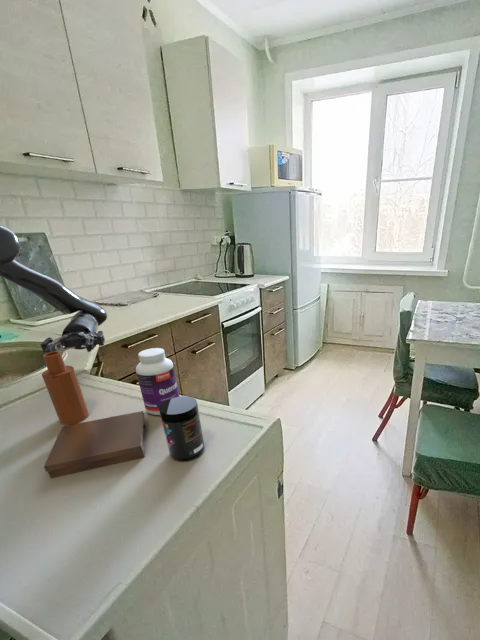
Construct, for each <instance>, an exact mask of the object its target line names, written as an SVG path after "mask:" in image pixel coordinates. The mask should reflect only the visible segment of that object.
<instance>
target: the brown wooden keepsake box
mask: <svg viewBox="0 0 480 640" xmlns="http://www.w3.org/2000/svg"><path fill="white" fill-rule="evenodd" d="M146 428H147V422H146V419H145V413H144V410H141V411H140V410H139V411H136V412H129V413H125V414H124V413H123V414H120V415H115V416H109V417H103V418H98V419H93V420H89V421H81V422H78V423H75V424H69V425H62V426H61V427H60V429H59V432H58V435H57V436H56V439H55V441H54V443H53V445H52V448H51V450H50V452H49V454H48V456H47V459H46V461H45V462H44V465H43V469H44V470H45V472H46V473H48V476H49V478H50V479H53V478H57V477H62V476H66V475H70V474H74V473H75V474H76V473H79V472H84V471H89V470H92V469H93V470H94V469H97V468H102V467H105V466H110V465H115V464H119V463H124V462H129V461H134V460H138V459H143V458H145V457H146V455H145V454H146V453H145V451H146V450H145V446H144V429H146Z"/></svg>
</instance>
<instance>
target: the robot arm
mask: <svg viewBox="0 0 480 640" xmlns="http://www.w3.org/2000/svg"><path fill="white" fill-rule="evenodd" d="M20 252H21V242H20V239H19V238H18V236H17V235H16V233H14V231H12V230H11V229H9V228H8V227H5V226H3V225H0V277H2V278H3V279H5V280H7V281H9V282H11V283H13V284H14V285H17V286H19V287H20V288H22V289H24V290H26V291H28V292H30V293H31V294H32V295H35V296H36V297H38V298H40V299H41V300H43V301H44V302H46V304H48V305H49V306H51V307H53V308H54V309H56V310H57V311H59V312H60V313H62V314H64V315H71V314H73V316H72V317H71V318H70V321H69V322H68V323H67V325H66V326H65V327H64V328H63V330H62V333H61V336H59V337H57V338H55V339H53V338H52V337H47V338H45V339H44V341H42V342H41V343H40V347H41V350H42V353H43V355H44V354H46V353H49V352H54V351H59V352H61V353H62V352H63V353H64V352H66V351H68V350H70V349H71V350H72V349H74V350H77V351H79V350H86V352H87V353H90V352H92V351H93V350H94V349H95V348H96V347H97V345H98V346H99V347H102V346H104V345H105V342H106V339H105V335H104V331H103V330H99V327H100V326H101V325H102V324H104V323H105V322H106V321H107V319H108V313H107V311H106V309H105V308H104V307H103V306H101V305H100V304H98V303H96V302H95V301H91V300H89V299H86V298H84V297H82V296H80V295H78V294H77V293H75V292H73V290H71V289H69V287H67V286H66V285H65V284H63V283H62V282H60V281H59V280H56V279H55V278H52V277H51V276H49V275H46V274H44V273H41V272H39V271H36V270H35V269H32V268H30V267H27V266H26V265H24V264H22V263H21V262H19V261H17V260H16V259H17V258H18V257H19V255H20ZM74 313H75V314H74Z"/></svg>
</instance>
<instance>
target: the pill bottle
mask: <svg viewBox="0 0 480 640" xmlns="http://www.w3.org/2000/svg"><path fill="white" fill-rule="evenodd" d="M137 356H138V360H139V361H140V362H138V364H137V365H136V367H135V373H136V377H137V381H138V385H139V388H140V393H141V395H142V396H141V397H142V401H143V406H144V409H145V411H146V413H148V414H149V415H152V416H160V412H159V406H160V405H161V404H162V403H163V402H165V401H167V400H169V399H172V398H175V397H180V393H179V388H178V382H177V377H176V373H175V372H176V371H175V368H174V363H173V361H172V360H171V359H170V358H167V357H166V353H165V349H164V348H161V347H151V348H146V349H144V350H141V351H139V353H138V354H137Z"/></svg>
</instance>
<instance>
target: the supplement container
mask: <svg viewBox="0 0 480 640" xmlns="http://www.w3.org/2000/svg"><path fill="white" fill-rule="evenodd" d="M159 412H160V415H159V416H160V419H161V423H162V427H163V431H164V435H165V441H166V445H167V448H168V453H169V456H170V457H171V458H172V459H173V460H175V461H178V462H188V461H192V460H194V459H196V458H198V457H200V456H201V455H202V454H203V453H204V450H205V439H204V434H203V429H202V424H201V418H200V413H199V406H198V400H197V399H196V398H195V397H193V396H187V395H185V396H183V395H182V396H179V397H175V398H172V399H169V400H167V401H165V402H163V403H162V404H161V405H160V406H159Z"/></svg>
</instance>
